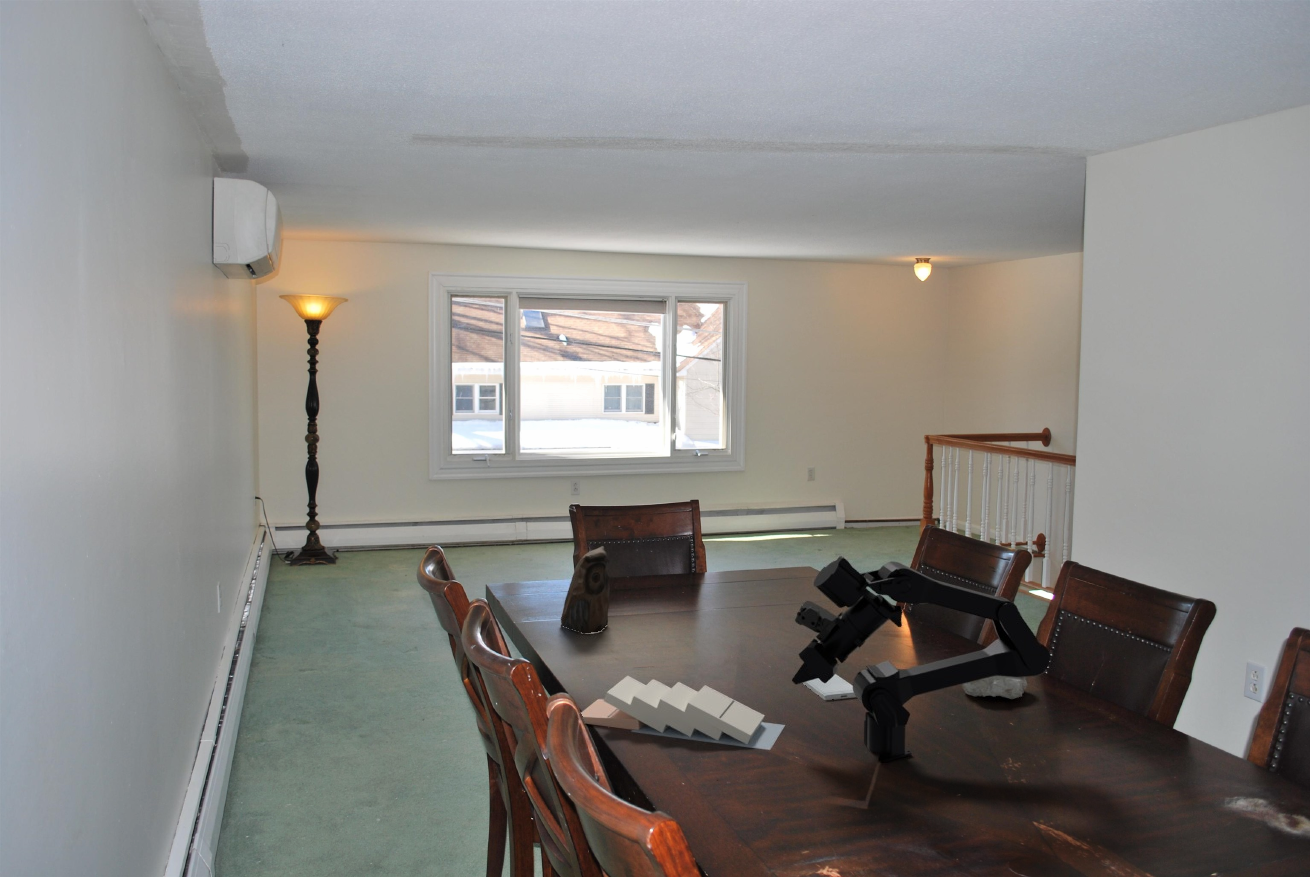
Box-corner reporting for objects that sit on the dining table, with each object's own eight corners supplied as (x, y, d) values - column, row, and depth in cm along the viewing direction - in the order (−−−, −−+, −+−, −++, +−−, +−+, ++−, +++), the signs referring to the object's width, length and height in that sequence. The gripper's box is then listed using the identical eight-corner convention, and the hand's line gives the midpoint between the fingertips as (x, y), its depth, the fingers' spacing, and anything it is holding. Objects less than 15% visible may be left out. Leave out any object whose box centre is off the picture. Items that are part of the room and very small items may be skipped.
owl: (604, 620, 248) (604, 543, 246) (624, 631, 236) (624, 551, 235) (559, 625, 242) (558, 547, 241) (577, 638, 231) (576, 556, 229)
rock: (990, 695, 180) (976, 643, 185) (956, 708, 187) (943, 658, 192) (1044, 698, 187) (1030, 647, 191) (1009, 710, 194) (996, 661, 199)
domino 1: (657, 701, 178) (598, 698, 182) (638, 719, 168) (576, 716, 172) (658, 711, 178) (599, 708, 182) (638, 729, 168) (577, 726, 172)
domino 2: (683, 705, 176) (627, 675, 179) (665, 723, 167) (606, 692, 170) (680, 713, 176) (624, 684, 180) (662, 732, 167) (603, 701, 170)
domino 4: (736, 712, 172) (678, 681, 176) (721, 731, 163) (660, 698, 167) (733, 720, 173) (674, 690, 176) (717, 740, 163) (656, 708, 167)
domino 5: (764, 715, 171) (704, 684, 174) (750, 735, 161) (687, 702, 165) (761, 724, 171) (701, 693, 175) (747, 744, 162) (684, 711, 165)
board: (785, 729, 171) (785, 725, 171) (769, 754, 159) (769, 749, 159) (654, 713, 179) (654, 708, 179) (630, 735, 168) (630, 731, 168)
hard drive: (798, 676, 198) (824, 694, 186) (834, 672, 200) (862, 690, 188) (798, 683, 198) (824, 703, 186) (834, 680, 200) (862, 699, 188)
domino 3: (710, 708, 174) (653, 678, 178) (694, 727, 165) (633, 695, 168) (707, 717, 174) (649, 687, 178) (690, 737, 165) (630, 704, 169)
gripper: (835, 577, 170) (776, 633, 174) (811, 598, 152) (745, 660, 157) (880, 624, 167) (818, 680, 172) (861, 651, 150) (792, 712, 154)
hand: (794, 681), depth 164 cm, fingers closed
